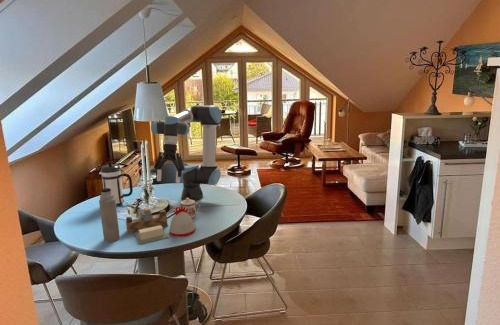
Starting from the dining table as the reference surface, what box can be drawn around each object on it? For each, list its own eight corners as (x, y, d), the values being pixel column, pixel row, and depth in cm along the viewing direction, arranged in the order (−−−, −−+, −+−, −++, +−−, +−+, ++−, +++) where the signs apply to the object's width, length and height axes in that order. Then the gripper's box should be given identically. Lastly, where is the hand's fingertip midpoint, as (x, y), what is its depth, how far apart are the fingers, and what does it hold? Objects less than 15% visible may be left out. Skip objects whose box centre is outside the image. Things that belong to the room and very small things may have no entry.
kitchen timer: (165, 231, 208) (163, 205, 204) (187, 224, 216) (185, 200, 212) (176, 239, 197) (174, 212, 194) (199, 232, 205) (198, 206, 202)
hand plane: (165, 222, 219) (164, 209, 217) (167, 225, 215) (166, 211, 213) (126, 230, 209) (125, 216, 207) (128, 234, 205) (127, 219, 203)
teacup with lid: (184, 220, 223) (182, 201, 220) (179, 215, 230) (177, 197, 228) (202, 215, 228) (201, 197, 226) (197, 211, 236) (196, 194, 233)
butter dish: (162, 229, 209) (161, 222, 208) (168, 237, 199) (167, 229, 198) (135, 235, 202) (134, 228, 201) (139, 244, 192) (139, 236, 191)
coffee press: (112, 210, 242) (107, 165, 235) (98, 205, 252) (93, 162, 245) (134, 202, 256) (130, 160, 249) (121, 198, 265) (116, 157, 258)
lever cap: (149, 215, 216) (148, 206, 214) (152, 219, 208) (152, 210, 207) (140, 216, 213) (139, 207, 212) (143, 221, 206) (142, 212, 205)
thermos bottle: (107, 235, 204) (101, 186, 197) (122, 235, 203) (116, 186, 197) (101, 242, 196) (94, 191, 189) (116, 242, 196) (110, 191, 189)
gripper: (148, 142, 210) (146, 180, 210) (183, 144, 198) (181, 183, 198) (157, 143, 216) (155, 180, 216) (192, 144, 204) (190, 183, 205)
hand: (168, 182), depth 207 cm, fingers open, 13 cm apart
